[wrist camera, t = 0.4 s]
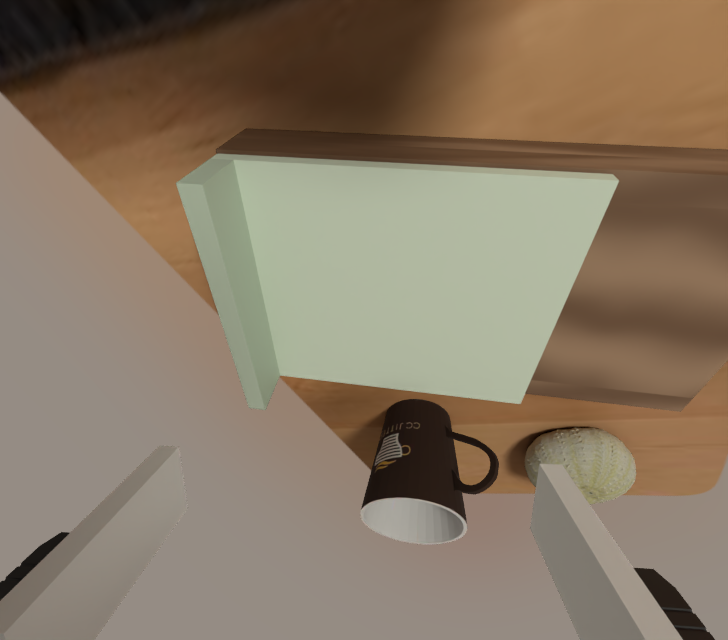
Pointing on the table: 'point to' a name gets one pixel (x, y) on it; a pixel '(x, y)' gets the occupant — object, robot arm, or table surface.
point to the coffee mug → (419, 477)
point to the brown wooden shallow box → (599, 257)
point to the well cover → (390, 269)
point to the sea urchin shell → (585, 461)
